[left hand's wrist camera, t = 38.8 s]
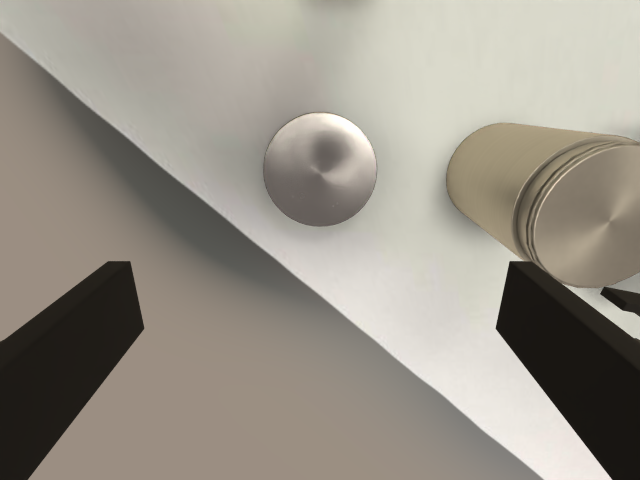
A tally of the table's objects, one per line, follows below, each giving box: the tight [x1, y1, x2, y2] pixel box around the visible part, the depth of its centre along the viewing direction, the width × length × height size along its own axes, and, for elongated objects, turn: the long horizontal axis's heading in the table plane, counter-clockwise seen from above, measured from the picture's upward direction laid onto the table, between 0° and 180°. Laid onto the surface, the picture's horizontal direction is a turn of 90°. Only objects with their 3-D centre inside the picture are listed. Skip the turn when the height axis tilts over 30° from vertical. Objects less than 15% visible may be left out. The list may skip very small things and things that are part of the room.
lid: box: [263, 112, 377, 226], centre depth 36 cm, size 11×11×2 cm
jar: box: [446, 123, 640, 288], centre depth 30 cm, size 10×10×16 cm
